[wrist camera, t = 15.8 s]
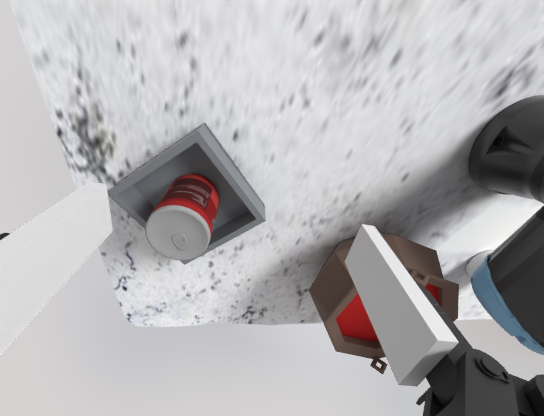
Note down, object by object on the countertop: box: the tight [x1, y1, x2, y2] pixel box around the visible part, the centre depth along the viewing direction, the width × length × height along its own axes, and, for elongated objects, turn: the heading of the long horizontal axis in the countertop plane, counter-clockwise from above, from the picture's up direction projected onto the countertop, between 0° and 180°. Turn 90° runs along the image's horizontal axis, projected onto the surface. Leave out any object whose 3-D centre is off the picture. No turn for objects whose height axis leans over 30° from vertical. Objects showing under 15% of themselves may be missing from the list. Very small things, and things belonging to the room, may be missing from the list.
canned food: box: [145, 174, 220, 260], centre depth 34 cm, size 8×8×11 cm
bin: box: [108, 123, 265, 264], centre depth 38 cm, size 16×16×5 cm
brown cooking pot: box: [309, 234, 459, 374], centre depth 43 cm, size 24×24×16 cm
